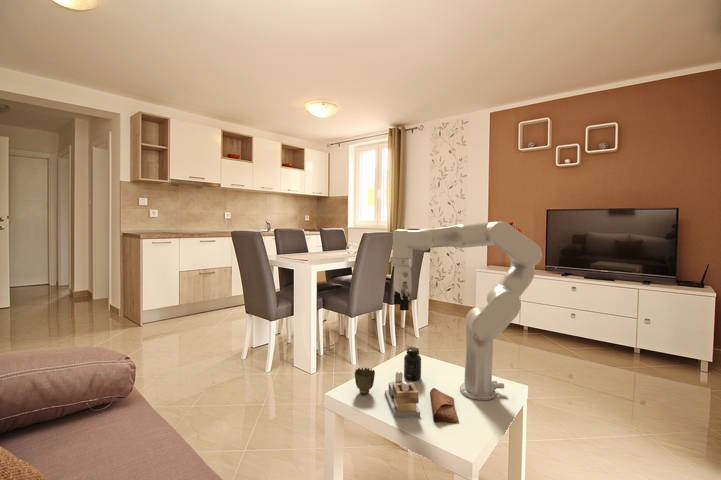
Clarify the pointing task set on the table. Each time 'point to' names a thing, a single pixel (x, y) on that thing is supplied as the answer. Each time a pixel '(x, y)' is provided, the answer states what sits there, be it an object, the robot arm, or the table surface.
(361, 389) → the cup
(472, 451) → the table surface
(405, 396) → the collar
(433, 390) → the sunglasses case
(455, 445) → the table surface
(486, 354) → the robot arm
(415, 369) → the supplement bottle
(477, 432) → the table surface
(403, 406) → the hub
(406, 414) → the parts board
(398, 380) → the stand rod
